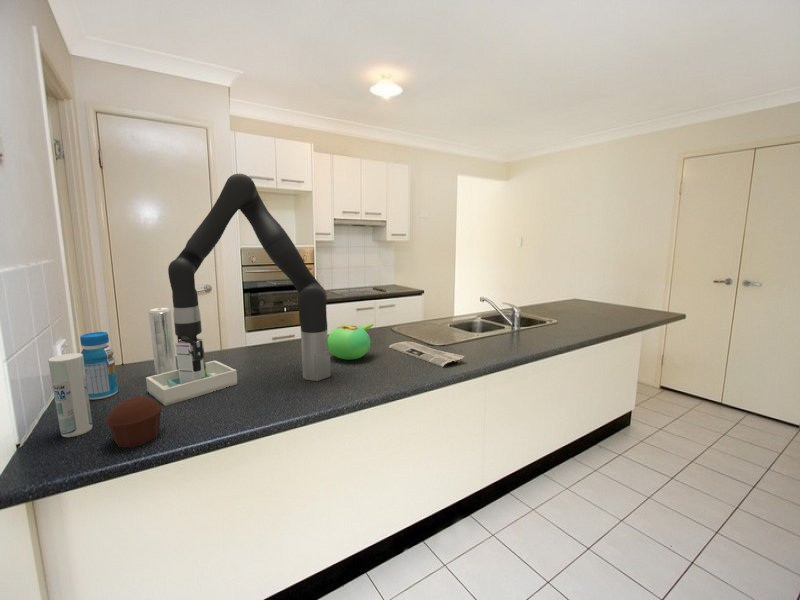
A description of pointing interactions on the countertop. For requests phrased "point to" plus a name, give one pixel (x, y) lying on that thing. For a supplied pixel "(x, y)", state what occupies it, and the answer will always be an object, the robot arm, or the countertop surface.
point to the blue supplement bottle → (99, 365)
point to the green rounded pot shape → (349, 341)
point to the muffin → (134, 421)
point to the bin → (190, 383)
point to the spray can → (71, 394)
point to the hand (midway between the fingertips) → (192, 368)
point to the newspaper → (426, 353)
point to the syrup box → (188, 363)
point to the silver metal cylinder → (162, 340)
